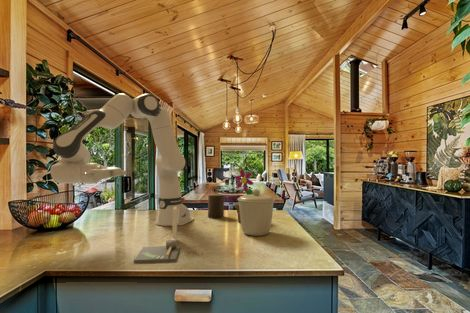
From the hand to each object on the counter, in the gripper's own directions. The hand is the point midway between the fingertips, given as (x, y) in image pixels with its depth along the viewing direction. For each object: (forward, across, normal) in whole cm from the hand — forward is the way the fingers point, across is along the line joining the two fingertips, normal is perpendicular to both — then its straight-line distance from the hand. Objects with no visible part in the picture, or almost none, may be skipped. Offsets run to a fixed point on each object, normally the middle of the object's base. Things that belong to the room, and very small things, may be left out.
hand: (125, 172), depth 119 cm
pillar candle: (+40, +46, +30) cm, 68 cm away
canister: (+58, +6, +30) cm, 66 cm away
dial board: (+18, -20, +29) cm, 40 cm away
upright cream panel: (+21, -13, +28) cm, 38 cm away
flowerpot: (+58, +30, +30) cm, 72 cm away
